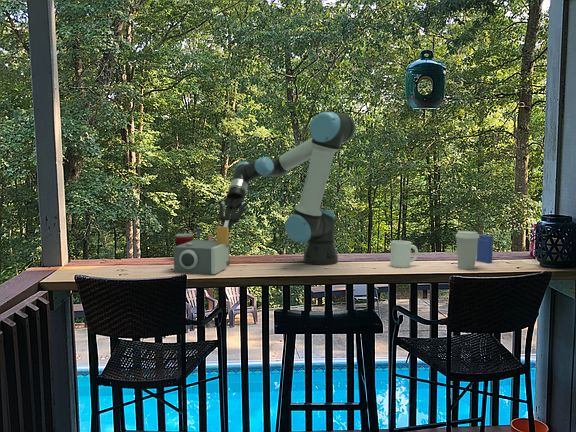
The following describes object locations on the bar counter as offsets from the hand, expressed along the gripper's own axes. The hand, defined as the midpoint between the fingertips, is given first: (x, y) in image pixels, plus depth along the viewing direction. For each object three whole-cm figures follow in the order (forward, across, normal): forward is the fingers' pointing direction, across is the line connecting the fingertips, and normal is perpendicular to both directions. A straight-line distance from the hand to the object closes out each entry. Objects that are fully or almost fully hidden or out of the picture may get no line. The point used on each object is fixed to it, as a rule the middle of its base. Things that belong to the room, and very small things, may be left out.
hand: (224, 234), depth 228 cm
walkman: (-21, -104, -41) cm, 114 cm away
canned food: (-1, +24, -21) cm, 32 cm away
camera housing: (+12, +8, -8) cm, 16 cm away
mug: (-7, -72, -27) cm, 77 cm away
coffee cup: (-9, -96, -28) cm, 101 cm away
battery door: (+15, 0, -4) cm, 15 cm away
